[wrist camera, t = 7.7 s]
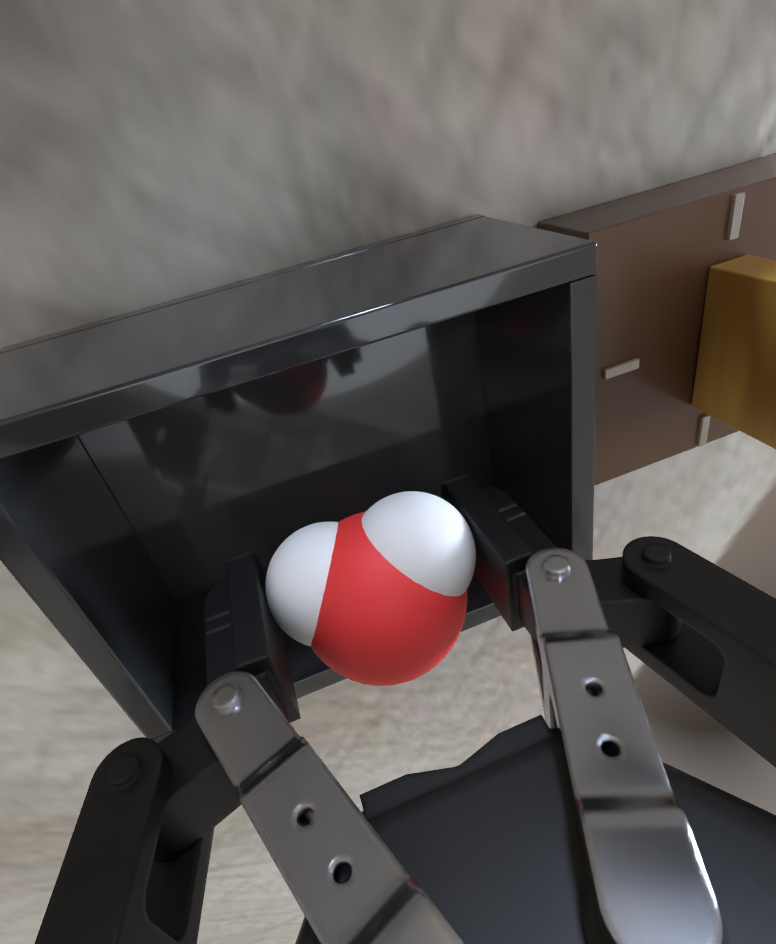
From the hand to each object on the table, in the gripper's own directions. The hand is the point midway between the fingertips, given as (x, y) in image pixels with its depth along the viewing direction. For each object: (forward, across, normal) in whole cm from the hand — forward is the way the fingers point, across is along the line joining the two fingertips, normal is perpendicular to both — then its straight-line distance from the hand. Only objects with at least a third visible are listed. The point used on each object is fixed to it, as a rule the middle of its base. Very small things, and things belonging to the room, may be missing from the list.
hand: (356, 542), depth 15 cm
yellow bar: (+4, -15, 0) cm, 16 cm away
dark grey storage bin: (+7, 0, 0) cm, 7 cm away
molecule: (+1, 0, 0) cm, 1 cm away
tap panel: (+7, -15, 0) cm, 17 cm away
